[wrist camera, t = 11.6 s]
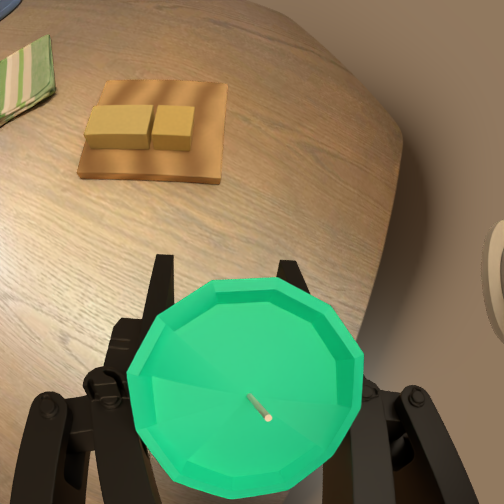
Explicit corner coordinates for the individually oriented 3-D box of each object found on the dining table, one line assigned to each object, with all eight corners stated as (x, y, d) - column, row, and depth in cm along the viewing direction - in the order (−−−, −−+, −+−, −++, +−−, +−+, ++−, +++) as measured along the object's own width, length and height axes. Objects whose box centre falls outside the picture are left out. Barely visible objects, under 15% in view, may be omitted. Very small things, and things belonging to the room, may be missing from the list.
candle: (251, 291, 18) (352, 227, 6) (283, 386, 17) (417, 459, 5) (151, 321, 16) (67, 311, 5) (186, 419, 15) (181, 556, 4)
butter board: (226, 91, 36) (228, 83, 35) (219, 184, 33) (221, 178, 31) (108, 87, 33) (106, 80, 32) (80, 178, 30) (76, 172, 28)
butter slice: (194, 122, 32) (194, 106, 30) (190, 151, 31) (190, 136, 29) (159, 121, 32) (158, 104, 29) (153, 149, 31) (151, 134, 28)
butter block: (155, 121, 32) (153, 104, 29) (149, 149, 31) (146, 134, 28) (99, 121, 30) (93, 105, 27) (90, 149, 29) (83, 134, 27)
